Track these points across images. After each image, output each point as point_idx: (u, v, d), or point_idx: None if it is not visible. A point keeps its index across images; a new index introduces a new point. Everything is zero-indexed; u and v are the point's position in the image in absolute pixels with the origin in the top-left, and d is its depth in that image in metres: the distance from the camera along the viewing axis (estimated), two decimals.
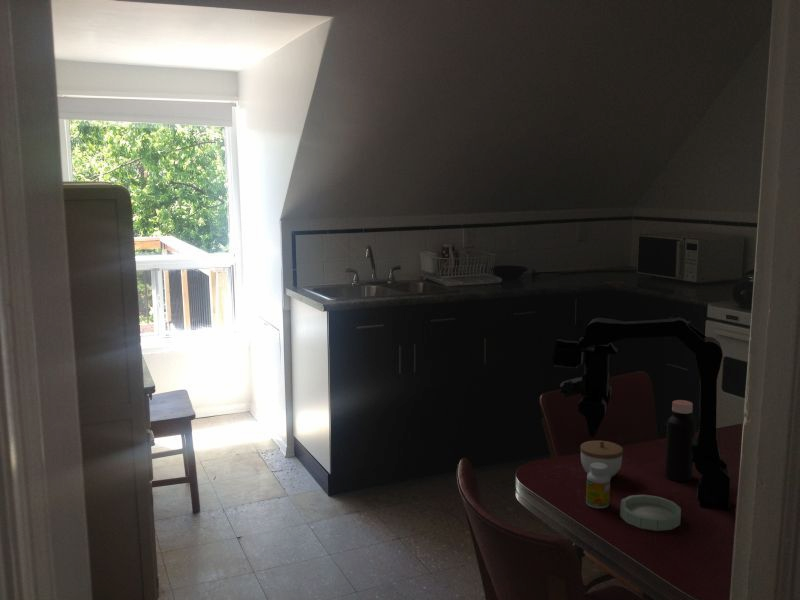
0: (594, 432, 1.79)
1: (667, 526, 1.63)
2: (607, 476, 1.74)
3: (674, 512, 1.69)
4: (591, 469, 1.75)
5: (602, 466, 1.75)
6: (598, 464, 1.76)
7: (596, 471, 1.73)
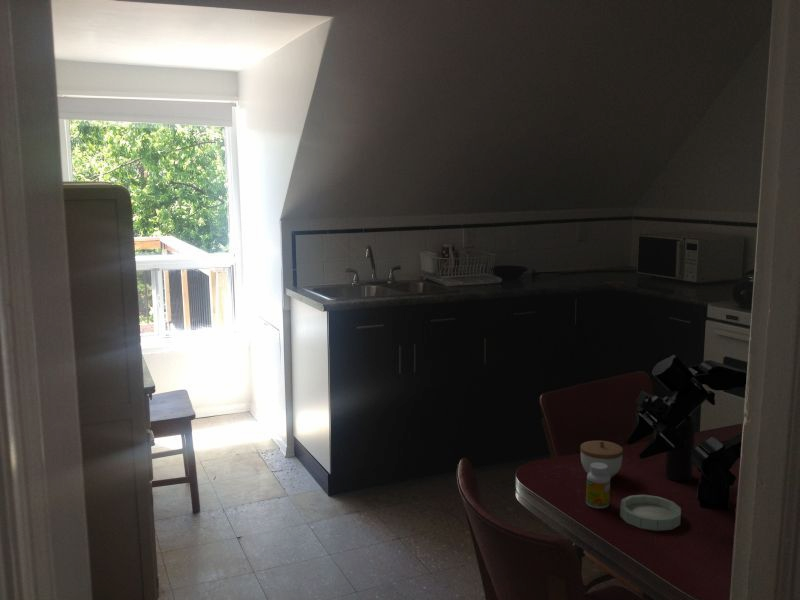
0: (646, 456, 1.69)
1: (667, 526, 1.63)
2: (607, 476, 1.74)
3: (674, 512, 1.69)
4: (591, 469, 1.75)
5: (602, 466, 1.75)
6: (598, 464, 1.76)
7: (596, 471, 1.73)
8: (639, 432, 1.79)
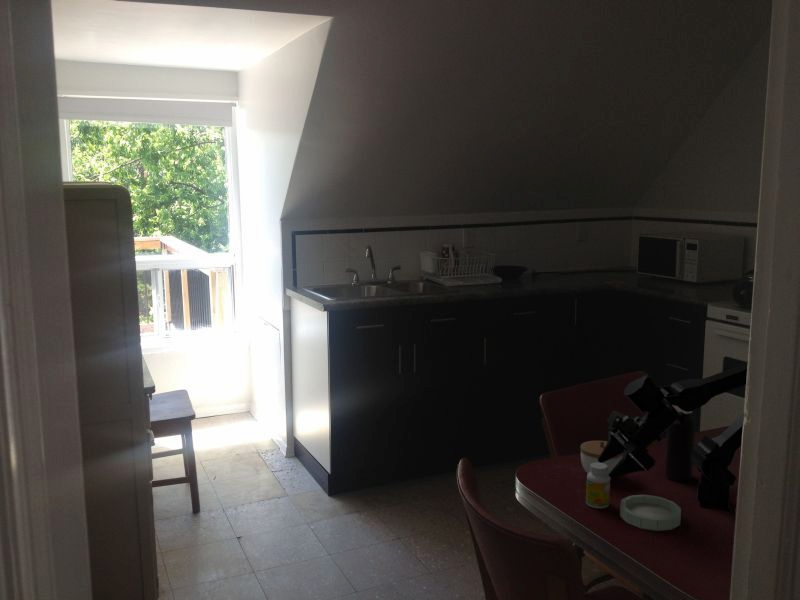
0: (616, 475, 1.70)
1: (667, 526, 1.63)
2: (607, 476, 1.74)
3: (674, 512, 1.69)
4: (591, 469, 1.75)
5: (602, 466, 1.75)
6: (598, 464, 1.76)
7: (596, 471, 1.73)
8: (610, 451, 1.79)
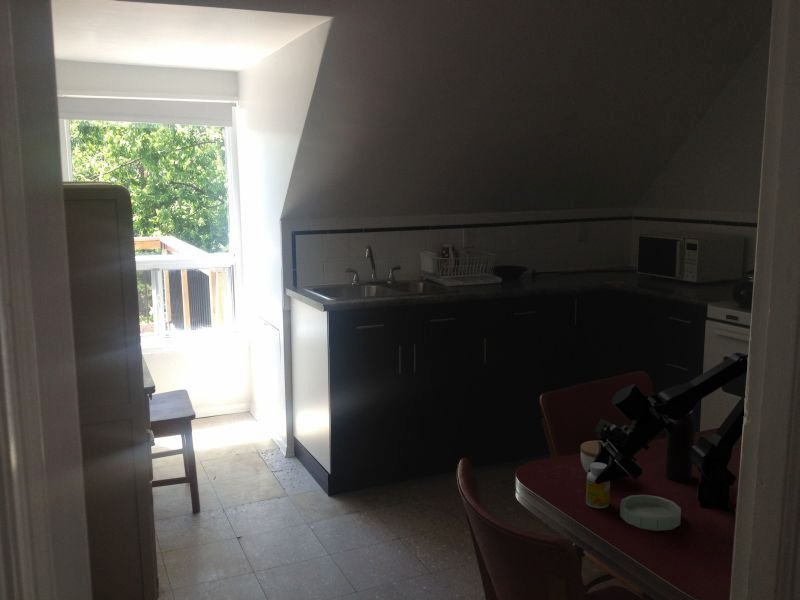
0: (602, 481, 1.72)
1: (667, 526, 1.63)
2: None
3: (674, 512, 1.69)
4: (591, 469, 1.75)
5: (602, 466, 1.75)
6: (598, 464, 1.76)
7: (596, 471, 1.73)
8: (601, 462, 1.78)
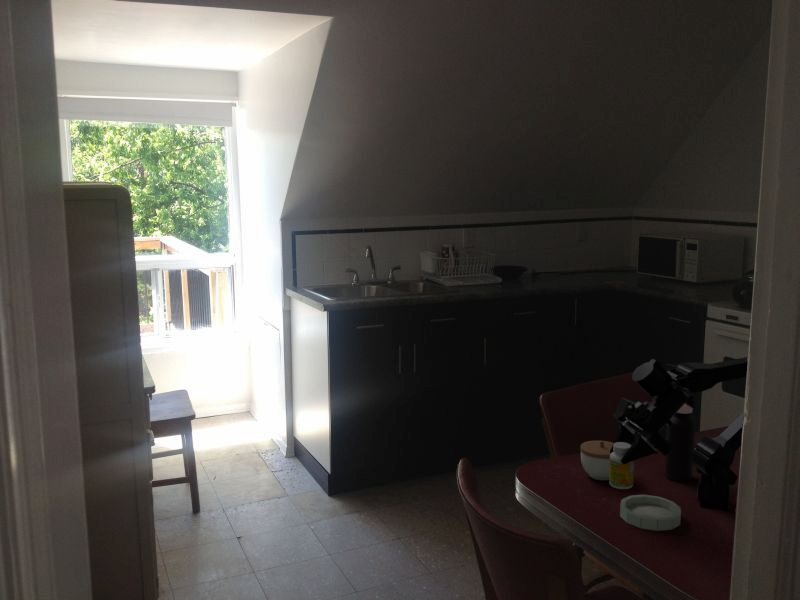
0: (628, 461, 1.68)
1: (667, 526, 1.63)
2: None
3: (674, 512, 1.69)
4: (615, 449, 1.70)
5: (626, 445, 1.70)
6: (621, 444, 1.71)
7: (621, 451, 1.69)
8: None
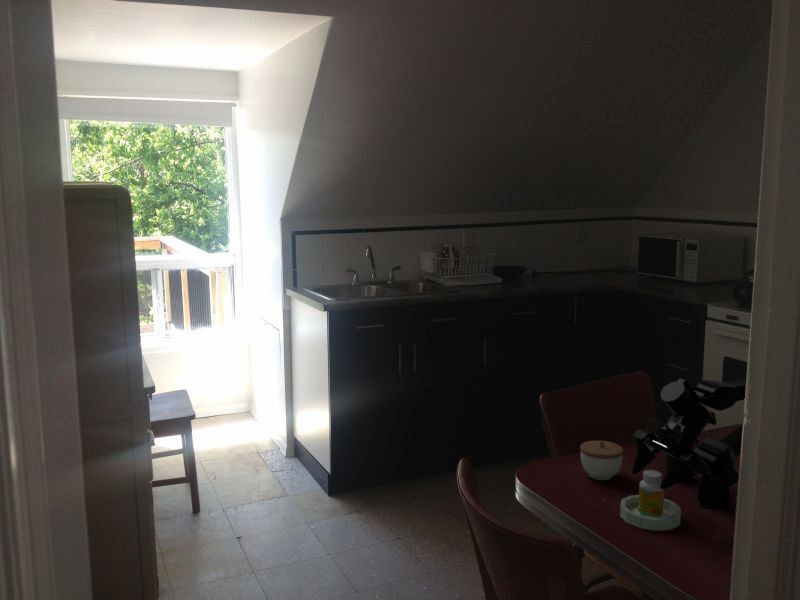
0: (668, 485, 1.63)
1: (667, 526, 1.63)
2: None
3: (674, 512, 1.69)
4: (647, 478, 1.67)
5: (656, 473, 1.68)
6: (650, 472, 1.69)
7: (654, 480, 1.66)
8: (643, 460, 1.73)
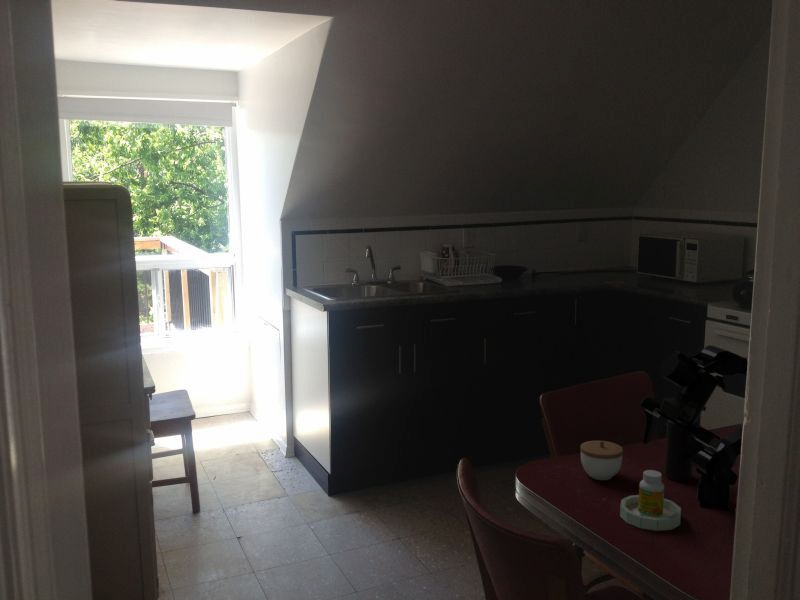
0: (683, 461, 1.68)
1: (667, 526, 1.63)
2: (662, 483, 1.68)
3: (674, 512, 1.69)
4: (647, 478, 1.67)
5: (656, 473, 1.68)
6: (650, 472, 1.69)
7: (654, 480, 1.66)
8: (652, 429, 1.75)
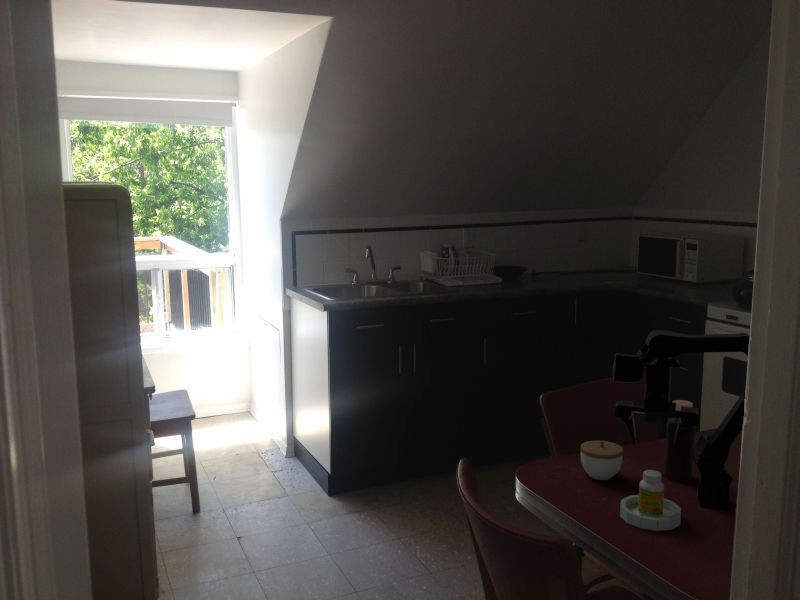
0: None
1: (667, 526, 1.63)
2: (661, 483, 1.68)
3: (674, 512, 1.69)
4: (647, 478, 1.67)
5: (656, 473, 1.68)
6: (650, 472, 1.69)
7: (654, 479, 1.66)
8: (634, 429, 1.79)
